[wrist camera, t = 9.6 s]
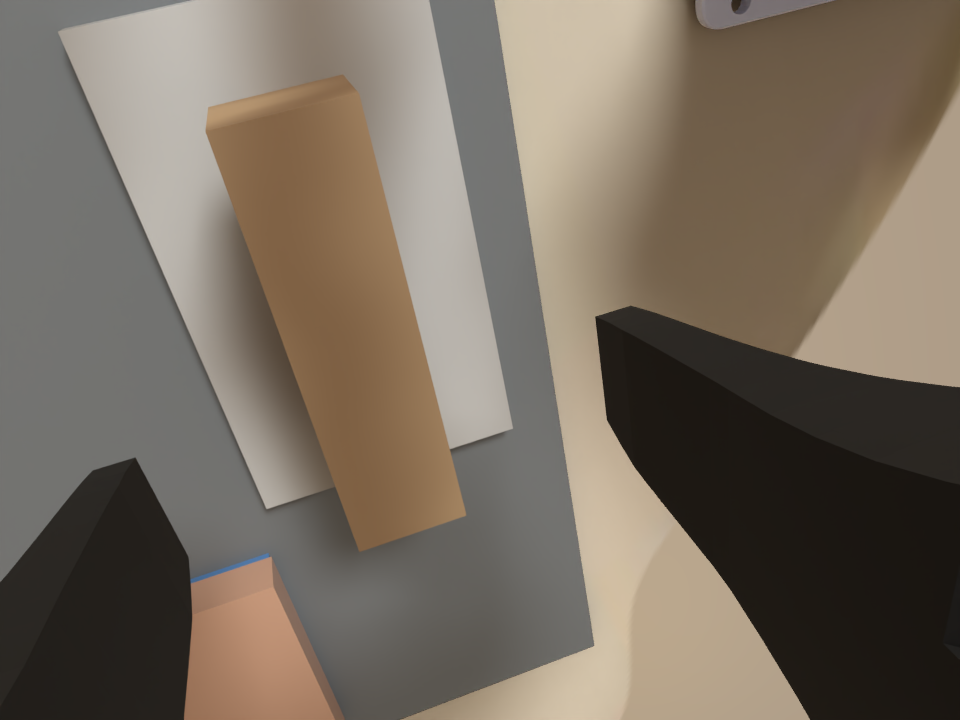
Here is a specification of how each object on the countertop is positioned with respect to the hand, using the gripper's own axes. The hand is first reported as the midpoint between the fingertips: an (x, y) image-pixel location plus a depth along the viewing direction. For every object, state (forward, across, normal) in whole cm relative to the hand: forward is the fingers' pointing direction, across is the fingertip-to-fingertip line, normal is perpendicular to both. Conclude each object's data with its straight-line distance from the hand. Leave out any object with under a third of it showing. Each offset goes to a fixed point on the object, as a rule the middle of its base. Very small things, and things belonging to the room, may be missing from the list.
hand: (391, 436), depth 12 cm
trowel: (+8, 0, 0) cm, 8 cm away
